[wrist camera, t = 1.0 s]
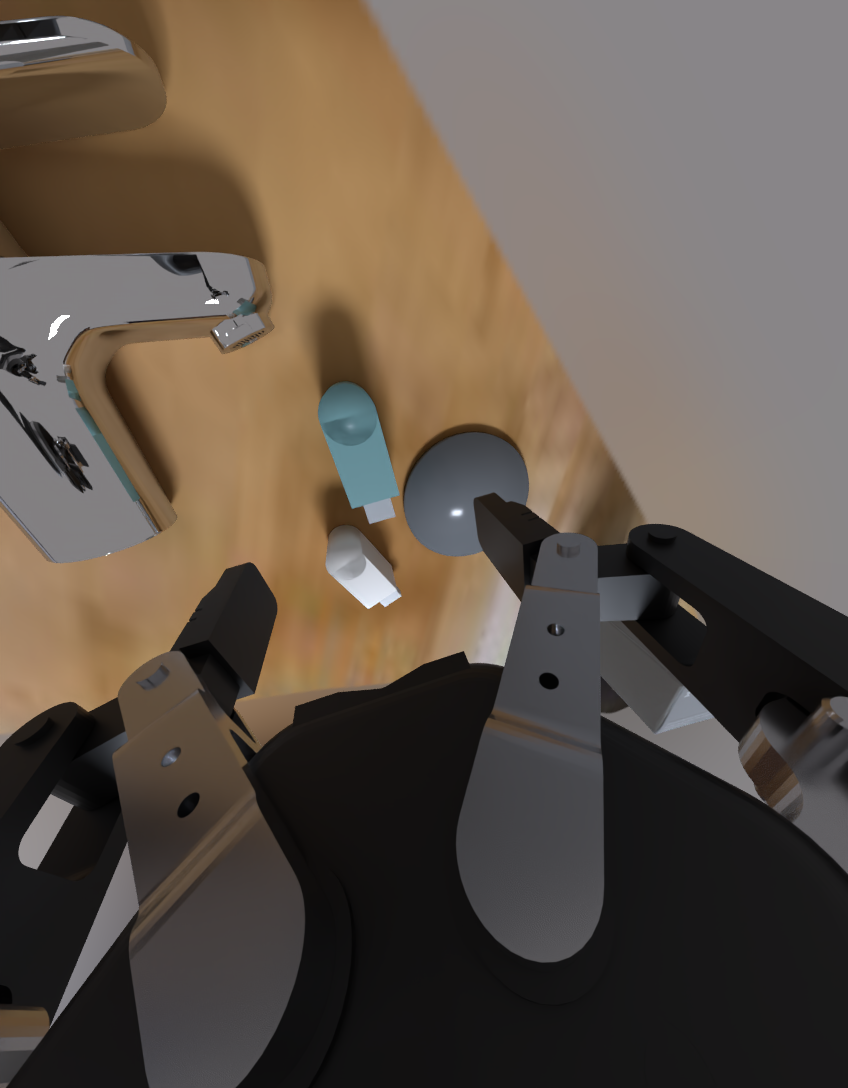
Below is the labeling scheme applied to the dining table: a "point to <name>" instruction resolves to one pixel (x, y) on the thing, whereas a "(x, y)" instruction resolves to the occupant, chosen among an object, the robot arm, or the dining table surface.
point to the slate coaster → (460, 489)
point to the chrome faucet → (93, 306)
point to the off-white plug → (360, 567)
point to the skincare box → (645, 681)
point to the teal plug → (358, 449)
